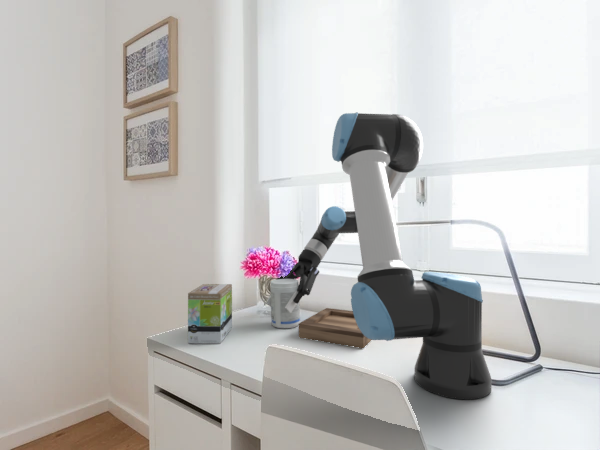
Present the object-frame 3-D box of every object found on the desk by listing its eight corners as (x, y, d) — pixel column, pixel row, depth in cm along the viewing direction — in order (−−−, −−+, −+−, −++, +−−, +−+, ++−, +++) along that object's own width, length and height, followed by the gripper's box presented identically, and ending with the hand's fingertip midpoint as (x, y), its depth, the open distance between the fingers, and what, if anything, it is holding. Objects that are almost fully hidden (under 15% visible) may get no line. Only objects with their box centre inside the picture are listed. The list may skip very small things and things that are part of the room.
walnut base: (363, 348, 96) (363, 333, 96) (298, 337, 106) (298, 323, 106) (383, 327, 114) (383, 314, 114) (326, 319, 124) (326, 307, 124)
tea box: (222, 344, 102) (221, 292, 101) (187, 344, 102) (185, 293, 102) (233, 327, 117) (232, 282, 116) (202, 327, 117) (201, 283, 117)
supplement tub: (304, 322, 121) (303, 279, 121) (292, 330, 112) (292, 284, 112) (279, 319, 125) (278, 277, 125) (265, 327, 116) (265, 282, 116)
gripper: (340, 264, 120) (306, 320, 110) (297, 259, 137) (264, 307, 127) (329, 250, 116) (293, 306, 106) (286, 246, 133) (251, 295, 123)
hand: (277, 307), depth 117 cm, fingers closed on supplement tub, 9 cm apart
